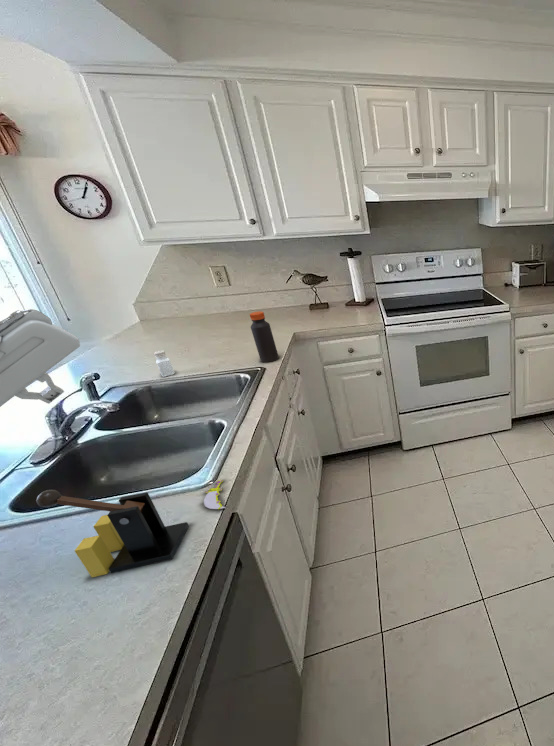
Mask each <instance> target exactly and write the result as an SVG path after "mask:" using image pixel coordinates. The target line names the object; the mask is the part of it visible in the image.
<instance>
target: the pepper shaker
mask: <svg viewBox="0 0 554 746" xmlns="http://www.w3.org/2000/svg"><path fill="white" fill-rule="evenodd" d="M153 355H154V357H155V358H156V360H155V363H156V365H157V367H158V370H159V372H160V375H161V376H162V377H163V378H164V377H169V376H172V375H173V376H174V375H175V373H176V372H175V370H174V367H173V364H172V362H171V361H170V360H171V359H170V358H169V357H167V354H166V351H165V350H157V351H154V353H153Z"/></svg>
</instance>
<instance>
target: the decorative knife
mask: <svg viewBox="0 0 554 746" xmlns="http://www.w3.org/2000/svg"><path fill="white" fill-rule="evenodd" d="M223 482H224V480H223V479H218V480H216V481H215V482H214V484H215V485H214V487H212V488H208V489H207V490H206V491H205V497H204V499H203V505H204V506H205V507H206V508H207V509H210V510H222V509H226V508H227V507H226V506H223V504H222V503H221V502H222V501H221V500H219V497H218V496H220V495H221V494H220V492H223V487H222V486H221V484H222V483H223ZM220 486H221V487H220Z"/></svg>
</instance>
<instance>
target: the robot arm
mask: <svg viewBox="0 0 554 746" xmlns="http://www.w3.org/2000/svg"><path fill="white" fill-rule="evenodd" d="M80 346H81V343H80V340H79V338H78V337H77V336H76V335H74V334H73V333H71V332H69V331H68V330H67V329H64V328H62V327H60V326H58V325H57V324H54V323H53V321H52V319H51V318H50V317H49V316H47V315H46V314H44V313H42V312H41V311H39V310H37V309H33V308H28V309H23V310H19V309H18V310H15V311H13V312H12V313H10V314H9V316H7V317H6V318H4V319H2V320H0V408H1V407H2V406H3V405H5V404H6V403H7V402H9V401H10V400H12V399H13V398H14V397H17V398H18V399H21V400H34V401H35V400H36V401H37V400H40V401H42V402H44V403H46V404H48V405H49V404H51V403H52V402H54V401H55V400H56V399H57V398H58V397H60V396H62V394H64V393H65V390H64V389H63V388H61V387H59V386H58V385H56V384H55V383H54V381H53V379H52V377H51V376H50V375H49V373H47V372H48V371H50V370H51V369H52V368H53V367H55V366H56V365H58V364H59V363H61V361H63V360H64V359H65V358H66V357H69V355H71V354H72V353H73V352H75V351H76V350H77V349H78V348H79V347H80ZM36 380H37V381H38V382H40V383H46V385H47V387H46V388H44V389H43V390H41V391H40V392H34V391H29V390H28V389H27V387H28V386H29V385H31V384H32V383H33V382H35V381H36Z"/></svg>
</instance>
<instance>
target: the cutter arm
mask: <svg viewBox="0 0 554 746" xmlns="http://www.w3.org/2000/svg"><path fill="white" fill-rule="evenodd" d="M35 501H36V504H37V505H38V506H39V507H41V508H50V507H51V508H52V507H54V506H56V505H60V506H68V507H74V508H82V509H90V510H95V511H96V510H97V511H103V512H111V511H116V510H121V509H126V508H131V507H136V506H138V507H139V509H140V511H141V513H142V511H143V508H144V504H145V503H140V502H134V501H126V503H125V504H124V505H121V504H120V503H113V502H105V501H99V500H92V499H87V498H86V499H85V498H79V497H72V496H67V495H66V496H65V495H62V494H61V492H59V491H58V490H56V489H47V490H44V491H42V492H41V493H39V494H38V495H37V497H36V500H35Z"/></svg>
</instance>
